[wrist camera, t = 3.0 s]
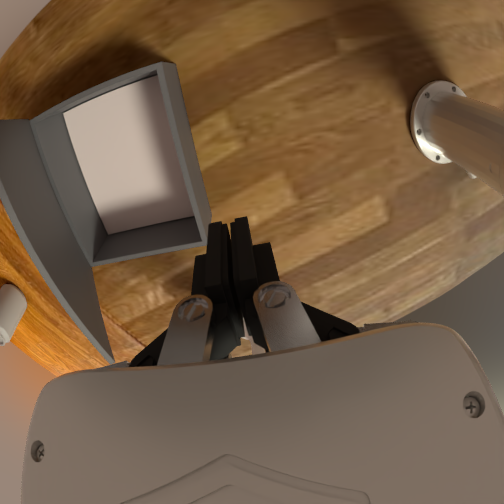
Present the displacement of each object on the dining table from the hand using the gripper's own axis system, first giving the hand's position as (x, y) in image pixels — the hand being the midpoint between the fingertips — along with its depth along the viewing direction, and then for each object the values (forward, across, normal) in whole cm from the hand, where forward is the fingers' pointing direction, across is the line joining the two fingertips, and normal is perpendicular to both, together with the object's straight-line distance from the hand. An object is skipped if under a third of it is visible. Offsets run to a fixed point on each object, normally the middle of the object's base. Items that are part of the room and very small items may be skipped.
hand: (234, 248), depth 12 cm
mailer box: (+23, +12, 0) cm, 26 cm away
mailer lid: (+9, +16, 0) cm, 18 cm away
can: (+24, +51, +18) cm, 59 cm away
